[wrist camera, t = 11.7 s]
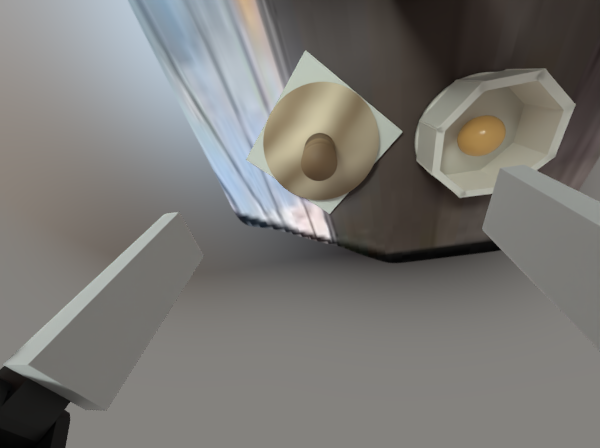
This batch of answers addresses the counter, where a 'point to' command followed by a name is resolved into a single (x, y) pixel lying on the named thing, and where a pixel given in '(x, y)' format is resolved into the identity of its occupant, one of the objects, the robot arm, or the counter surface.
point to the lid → (321, 140)
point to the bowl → (491, 127)
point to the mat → (317, 72)
